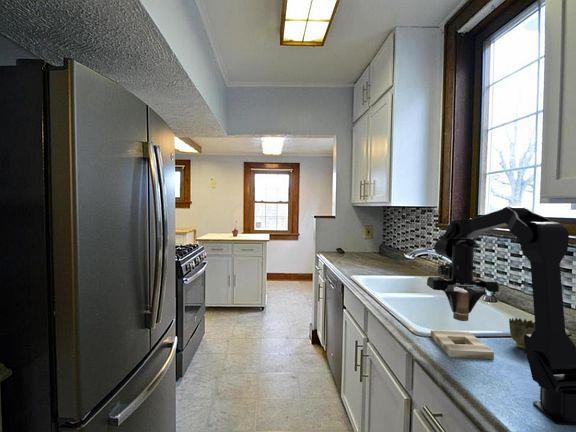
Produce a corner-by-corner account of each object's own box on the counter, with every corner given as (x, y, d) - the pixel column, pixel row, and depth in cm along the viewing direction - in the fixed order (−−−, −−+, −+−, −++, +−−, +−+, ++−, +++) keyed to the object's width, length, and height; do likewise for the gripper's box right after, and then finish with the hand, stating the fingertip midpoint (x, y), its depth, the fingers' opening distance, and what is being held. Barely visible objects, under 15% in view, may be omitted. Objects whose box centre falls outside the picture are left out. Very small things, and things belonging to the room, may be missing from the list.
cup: (544, 355, 90) (545, 328, 89) (515, 352, 91) (516, 325, 91) (529, 343, 97) (530, 318, 97) (503, 341, 98) (504, 316, 98)
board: (493, 359, 87) (494, 352, 87) (449, 357, 88) (449, 350, 88) (468, 337, 101) (468, 331, 101) (430, 336, 102) (430, 330, 102)
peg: (471, 321, 92) (472, 294, 92) (456, 320, 92) (457, 294, 92) (464, 316, 96) (465, 290, 96) (450, 316, 96) (451, 290, 96)
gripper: (480, 257, 101) (478, 304, 101) (421, 256, 102) (420, 302, 103) (501, 263, 90) (499, 317, 90) (434, 262, 91) (433, 314, 91)
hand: (461, 312), depth 94 cm, fingers closed on peg, 4 cm apart
